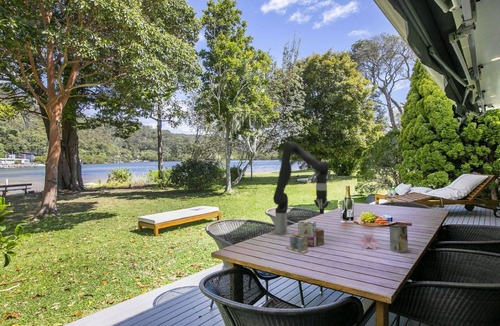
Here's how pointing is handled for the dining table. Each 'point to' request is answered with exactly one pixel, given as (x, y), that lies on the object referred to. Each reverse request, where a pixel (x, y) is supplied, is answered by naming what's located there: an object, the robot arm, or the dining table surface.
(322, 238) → the walnut bookend
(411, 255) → the dining table surface
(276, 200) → the robot arm
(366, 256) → the dining table surface
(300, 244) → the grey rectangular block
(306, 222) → the candy bar box
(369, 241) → the lily
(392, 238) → the coffee box
